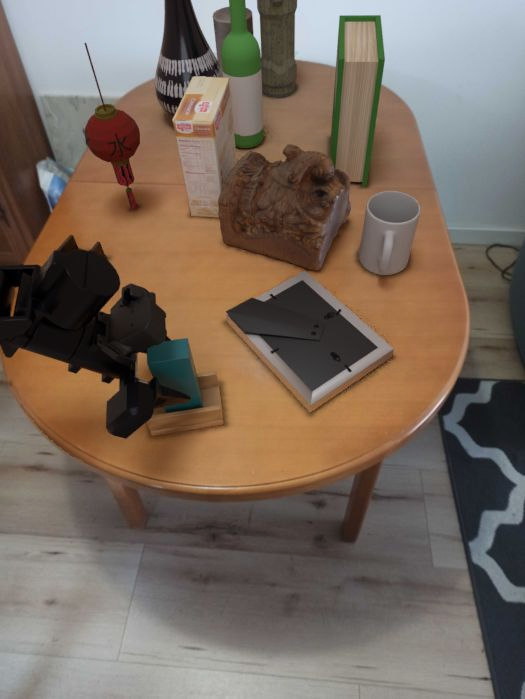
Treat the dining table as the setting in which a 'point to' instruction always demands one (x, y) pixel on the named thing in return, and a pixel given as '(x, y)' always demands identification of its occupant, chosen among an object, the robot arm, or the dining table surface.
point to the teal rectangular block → (176, 371)
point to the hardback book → (356, 94)
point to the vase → (182, 55)
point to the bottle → (243, 78)
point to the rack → (76, 248)
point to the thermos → (278, 47)
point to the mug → (388, 232)
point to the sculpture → (285, 206)
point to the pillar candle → (226, 27)
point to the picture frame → (308, 339)
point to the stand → (192, 410)
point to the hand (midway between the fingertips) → (187, 378)
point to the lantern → (113, 140)
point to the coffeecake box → (205, 141)
